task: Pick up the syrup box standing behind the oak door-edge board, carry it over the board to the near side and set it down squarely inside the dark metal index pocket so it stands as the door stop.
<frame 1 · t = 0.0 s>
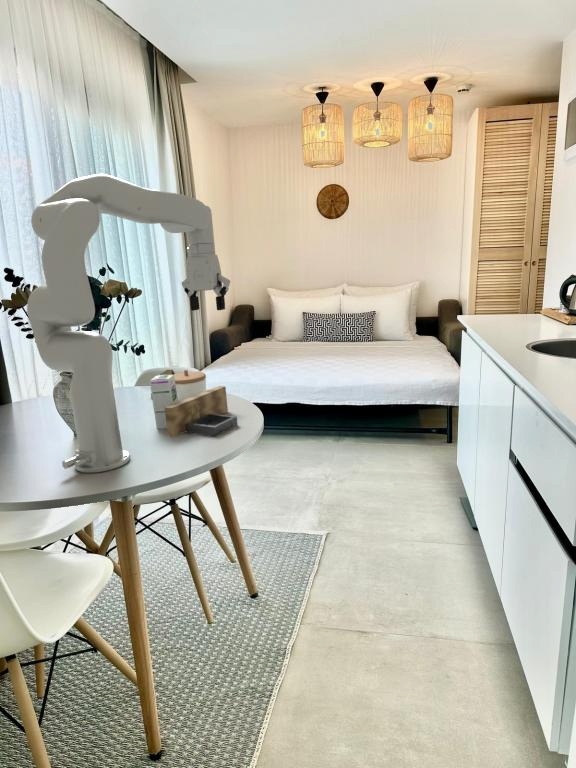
hand: (208, 310, 155), 31 cm above the table, tool pointing down, fingers open, 9 cm apart
syrup box: (168, 426, 151), on the table
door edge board: (199, 422, 152), on the table
rock: (166, 396, 185), on the table
lidded bowl: (189, 402, 175), on the table
index pocket: (212, 428, 146), on the table
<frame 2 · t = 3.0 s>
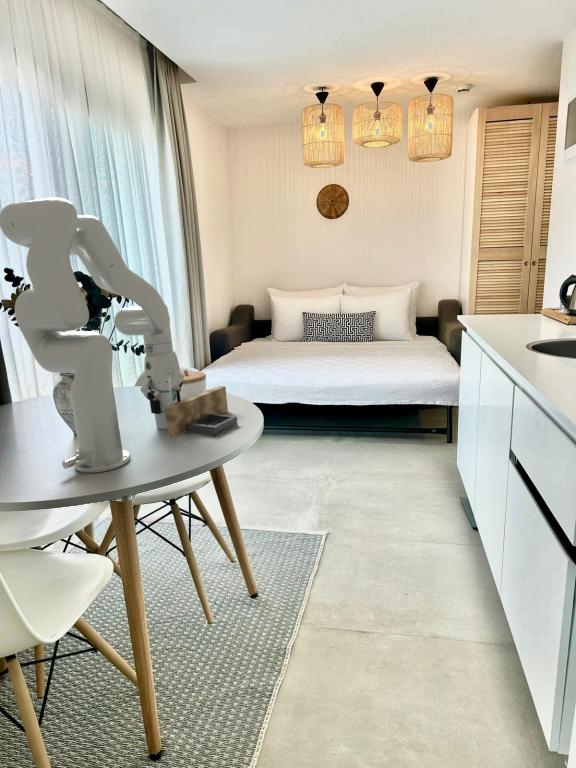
hand: (166, 408, 150), 5 cm above the table, tool pointing down, fingers closed on syrup box, 7 cm apart
syrup box: (168, 426, 151), on the table, touching gripper
everything else where it was.
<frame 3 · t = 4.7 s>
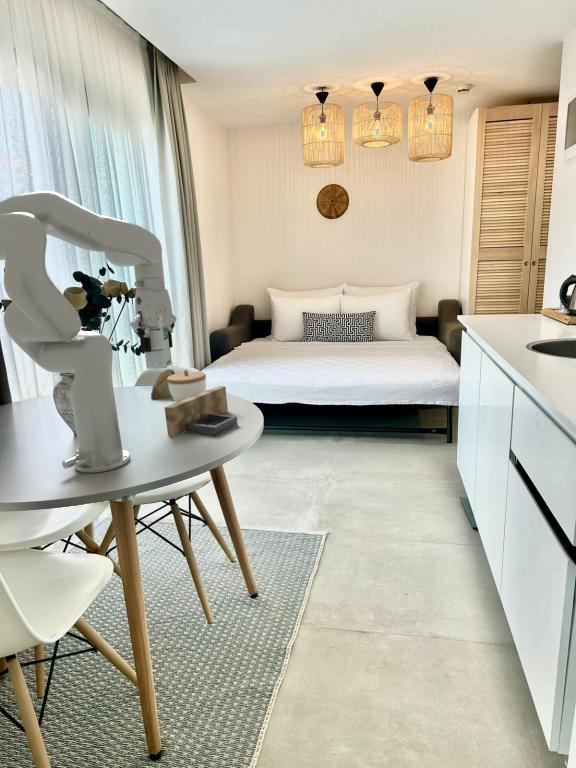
hand: (157, 349, 145), 23 cm above the table, tool pointing down, fingers closed on syrup box, 7 cm apart
syrup box: (159, 367, 146), point 17 cm above the table, touching gripper
everything else where it was.
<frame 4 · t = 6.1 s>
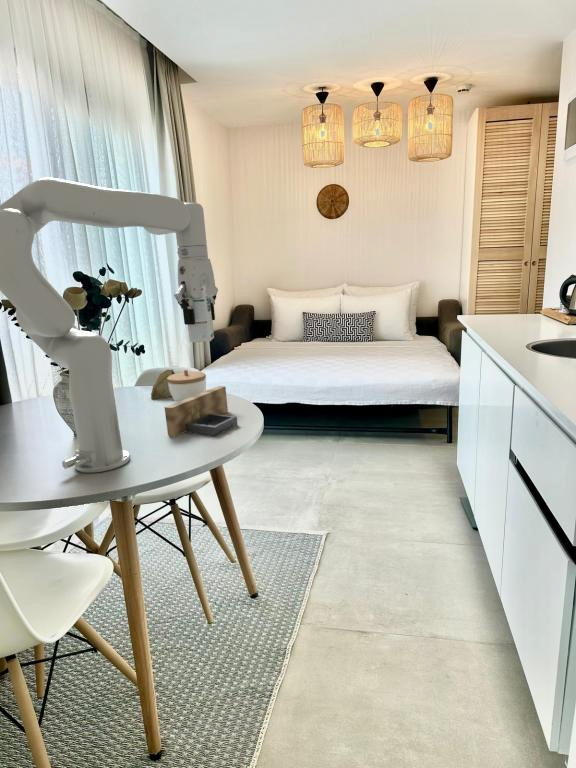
hand: (200, 321, 139), 30 cm above the table, tool pointing down, fingers closed on syrup box, 7 cm apart
syrup box: (202, 341, 140), point 25 cm above the table, touching gripper
everything else where it was.
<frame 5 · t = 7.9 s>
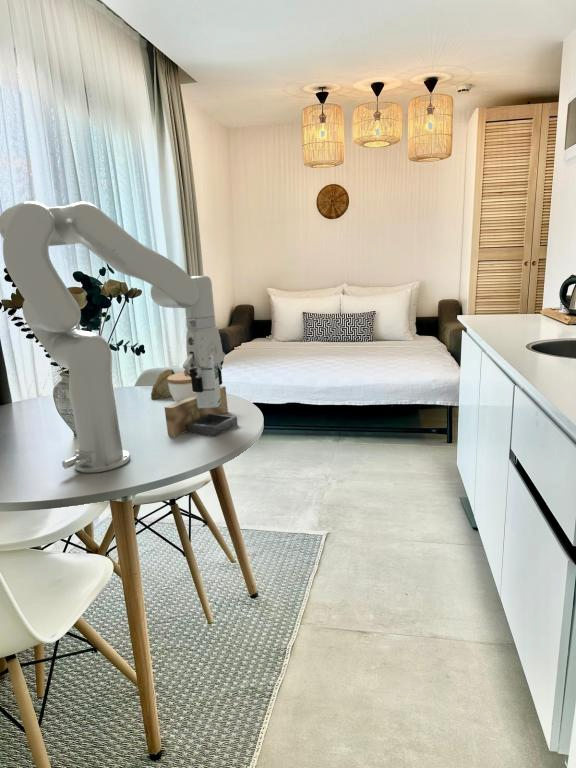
hand: (207, 387, 143), 12 cm above the table, tool pointing down, fingers closed on syrup box, 7 cm apart
syrup box: (209, 405, 144), point 7 cm above the table, touching gripper
everything else where it was.
when the fingers open (6 cm above the table, at t = 9.5 s): syrup box drops 1 cm, resting in index pocket.
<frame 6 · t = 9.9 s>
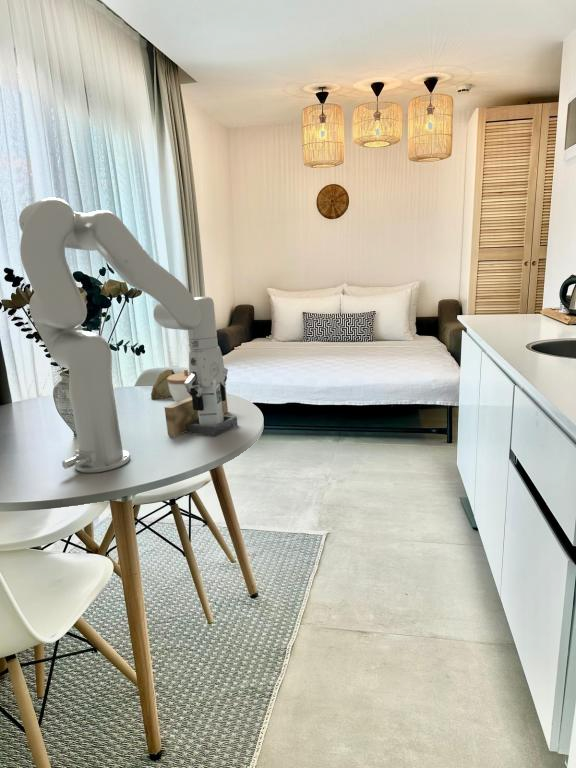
hand: (210, 405, 144), 7 cm above the table, tool pointing down, fingers open, 9 cm apart
syrup box: (212, 429, 146), resting in index pocket
everything else where it was.
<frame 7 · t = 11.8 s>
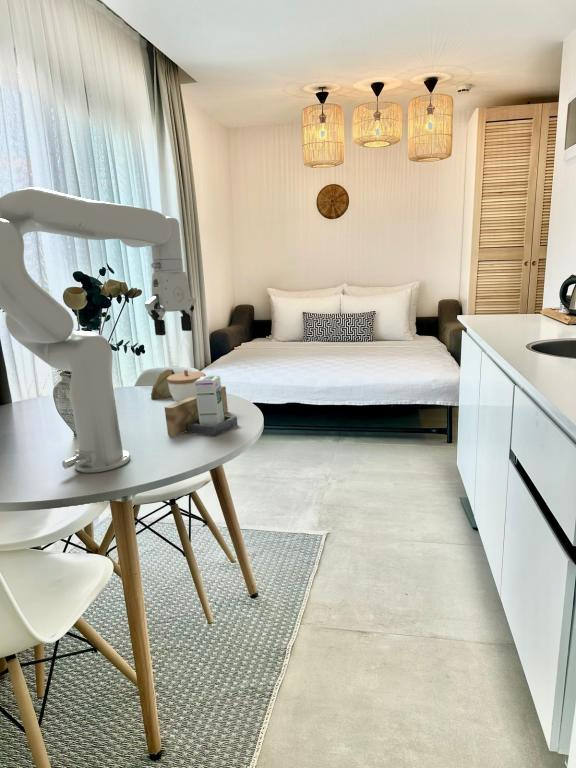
hand: (174, 332, 139), 27 cm above the table, tool pointing down, fingers open, 9 cm apart
nothing on the table moved.
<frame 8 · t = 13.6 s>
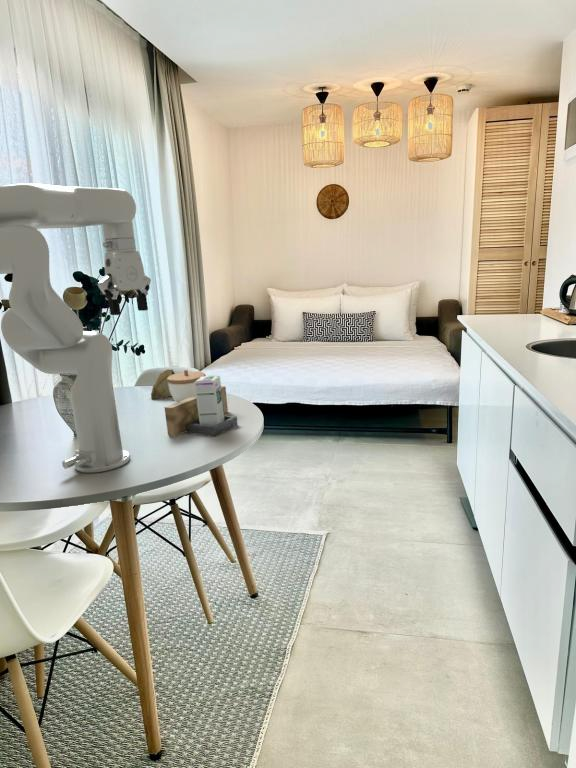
hand: (129, 312, 140), 33 cm above the table, tool pointing down, fingers open, 9 cm apart
nothing on the table moved.
at the end: syrup box 0.2 cm off-centre on the index pocket, point 0.0 cm above the index pocket's base; syrup box tilted 0°; the gripper is holding nothing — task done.
